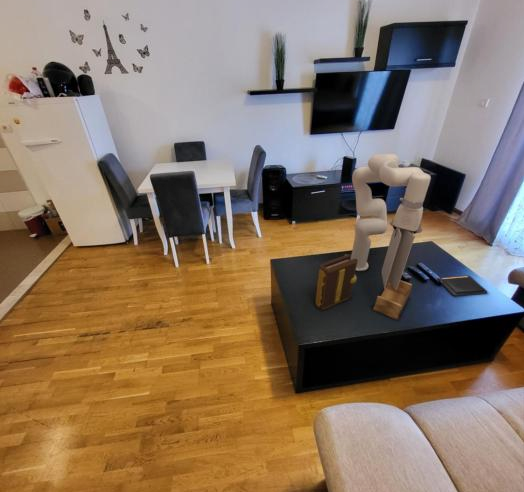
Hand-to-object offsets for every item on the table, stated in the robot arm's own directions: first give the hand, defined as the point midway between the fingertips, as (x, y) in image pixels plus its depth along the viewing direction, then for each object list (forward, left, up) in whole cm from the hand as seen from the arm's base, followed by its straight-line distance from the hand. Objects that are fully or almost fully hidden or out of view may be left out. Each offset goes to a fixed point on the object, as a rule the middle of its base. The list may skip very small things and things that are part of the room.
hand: (401, 240), depth 126 cm
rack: (+4, 0, -37) cm, 37 cm away
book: (-21, -15, -37) cm, 45 cm away
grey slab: (0, 0, -24) cm, 24 cm away
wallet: (+31, +37, -37) cm, 61 cm away
